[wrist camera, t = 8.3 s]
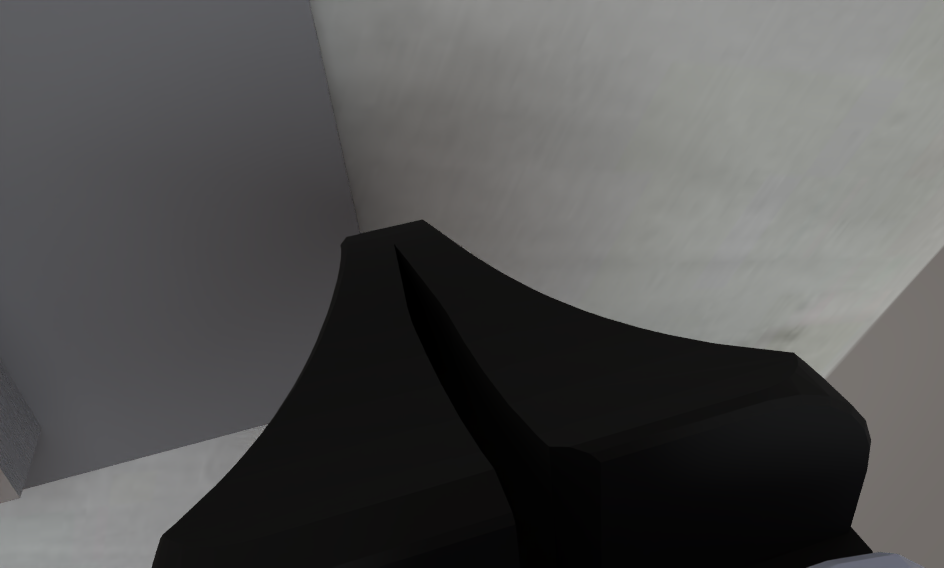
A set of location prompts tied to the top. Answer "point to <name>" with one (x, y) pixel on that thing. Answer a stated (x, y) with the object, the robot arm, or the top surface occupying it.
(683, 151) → the top surface
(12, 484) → the ball valve
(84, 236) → the mounting board
